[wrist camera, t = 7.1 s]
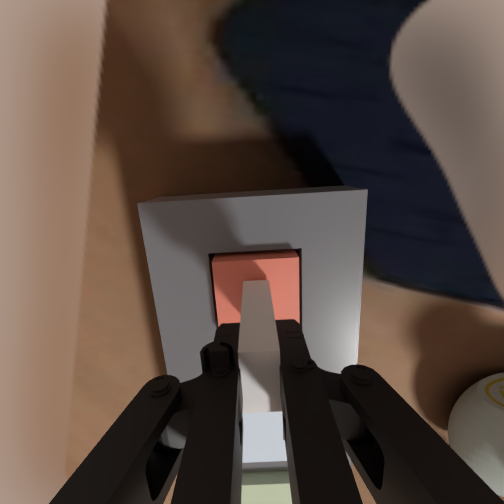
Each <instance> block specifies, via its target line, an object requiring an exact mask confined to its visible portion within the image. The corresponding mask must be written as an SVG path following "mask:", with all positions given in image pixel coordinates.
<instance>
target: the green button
mask: <svg viewBox="0 0 504 504" xmlns="http://www.w3.org/2000/svg"><path fill="white" fill-rule="evenodd" d="M241 504H292V498H291V490H290V481H289V473H288V470H272V471H249V472H242V492H241Z"/></svg>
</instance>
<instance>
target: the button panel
mask: <svg viewBox="0 0 504 504" xmlns="http://www.w3.org/2000/svg"><path fill="white" fill-rule="evenodd" d="M367 192H368V190H367V189H362V188H356V187H351V186H345V185H343V186H327V187H310V188H293V189H277V190H260V191H243V192H227V193H210V194H193V195H177V196H160V197H156V198H153V199H150V200H146V201H143V202H140V203H137V205H138V211H139V217H140V222H141V228H142V234H143V239H144V245H145V251H146V256H147V262H148V268H149V273H150V279H151V285H152V290H153V296H154V301H155V307H156V313H157V318H158V324H159V330H160V335H161V341H162V347H163V352H164V358H165V364H166V369H167V375H172V376H175V377H177V378H178V379H179V381H180V383H182V382H185V381H188V380H191V379H194V378H196V377H198V376H200V375H201V374H202V365H201V358H200V351H201V349H202V348H203V347H204V346H205V345H207V344H208V343H211V342H213V341H214V338H215V332H216V329H217V328H218V327H219V326H218V317H217V307H216V298H215V289H214V279H213V270H212V260H213V258H214V256H215V253H226V252H244V251H262V250H279V249H295V251H296V253H297V255H298V257H299V312H300V325H301V328H302V331H303V334H304V338H305V341H306V344H307V347H308V350H309V353H310V357H311V359H312V360H314V361H315V363H316V364H317V366H318V367H319V368H321V369H323V370H325V371H329V372H333V373H339V374H341V371H342V370H343V368H344V367H346V366H349V365H356V364H357V357H358V341H359V324H360V307H361V291H362V274H363V258H364V241H365V225H366V208H367ZM346 454H347V452H346ZM347 457H348V460H349V463H350V466H351V459H350V457H349V456H348V454H347ZM272 470H288V464H287V461H273V462H250V463H242V472H249V471H272Z"/></svg>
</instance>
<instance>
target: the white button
mask: <svg viewBox="0 0 504 504" xmlns="http://www.w3.org/2000/svg"><path fill="white" fill-rule="evenodd" d="M273 461H287V456H286V448H285V440H283V418H282V411H280V412H259V413H243V458H242V463H250V462H273Z"/></svg>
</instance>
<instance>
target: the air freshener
mask: <svg viewBox="0 0 504 504" xmlns="http://www.w3.org/2000/svg"><path fill="white" fill-rule="evenodd" d="M448 437H449V444H450V447H451V448H452V449H453V450H454V451H455V452H456V453H457V454H458V455H459V456H460V457H461V458H462V459H463V460H464V461H465V462H466V464H467V465H468V466H469V467H470V468H471V469H472V470H473V471H474V472H475V473H476V474H477V475H478V476H479V477H480V478H481V479H482V480H483V481H484V482H485V483H486V484H487V485H488V486H489V487H490V488H491V489H492V490H493V491H494V492H495V493H496V494H498V495H500V496H503V497H504V373H498V374H494V375H491V376H488V377H486V378H484V379H481V380H480V381H478V382H476V383H475V384H473V385H472V386H471V387H469V388H468V389H467V390H466V391H465V392H464V393H463V394H462V395H461V396H460V397H459V399H458V400H457V401H456V403H455V405H454V407H453V409H452V411H451V414H450V417H449V422H448Z"/></svg>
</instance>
